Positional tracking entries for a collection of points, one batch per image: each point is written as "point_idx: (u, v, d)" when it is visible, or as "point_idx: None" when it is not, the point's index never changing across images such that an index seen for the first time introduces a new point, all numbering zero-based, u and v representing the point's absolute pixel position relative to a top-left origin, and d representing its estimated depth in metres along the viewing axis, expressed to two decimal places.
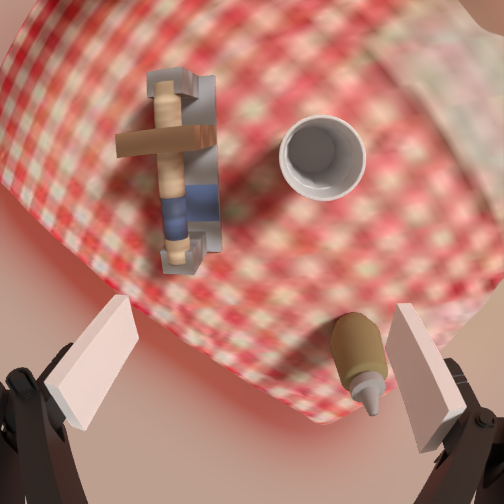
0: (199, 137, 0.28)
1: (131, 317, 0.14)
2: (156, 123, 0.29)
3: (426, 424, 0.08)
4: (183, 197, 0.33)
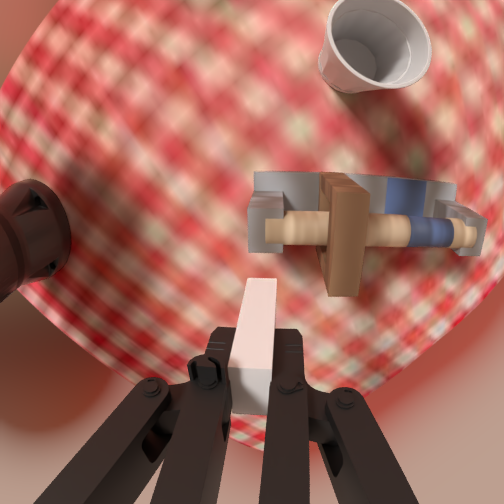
0: (349, 187, 0.22)
1: None
2: (319, 242, 0.26)
3: None
4: (409, 217, 0.25)
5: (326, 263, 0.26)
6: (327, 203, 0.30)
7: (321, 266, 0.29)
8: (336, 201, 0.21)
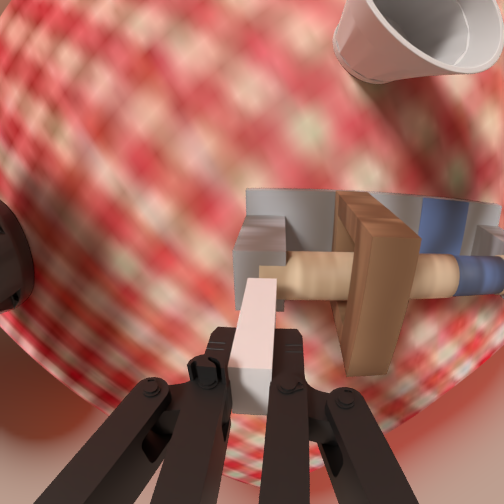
0: (386, 225, 0.14)
1: None
2: (336, 298, 0.18)
3: None
4: (457, 259, 0.17)
5: (345, 327, 0.18)
6: (346, 234, 0.22)
7: (336, 322, 0.21)
8: (369, 250, 0.13)
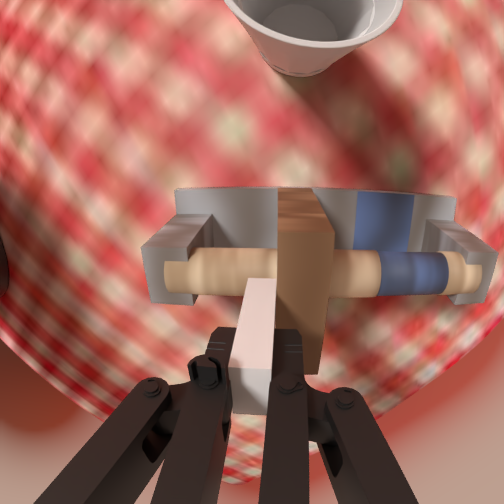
0: (304, 220, 0.15)
1: None
2: (240, 294, 0.18)
3: None
4: (381, 255, 0.18)
5: None
6: None
7: None
8: (277, 246, 0.14)
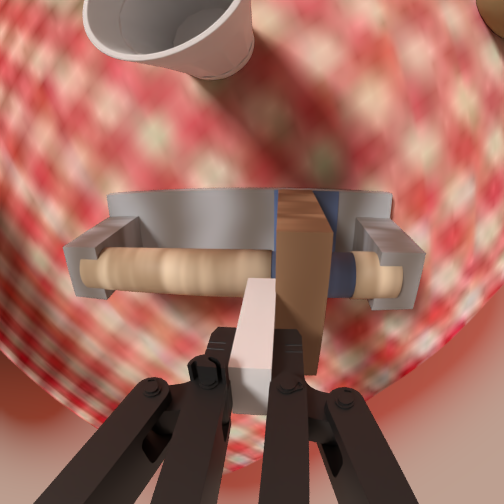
0: (303, 220, 0.15)
1: None
2: (140, 290, 0.19)
3: None
4: (275, 255, 0.18)
5: None
6: None
7: None
8: None
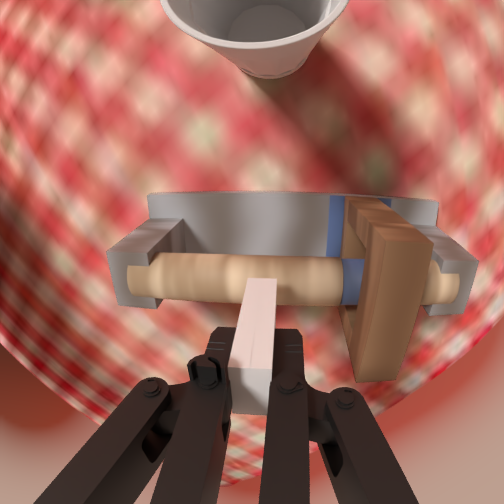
0: (398, 230, 0.14)
1: None
2: (199, 299, 0.18)
3: None
4: (345, 263, 0.17)
5: (354, 333, 0.17)
6: (355, 240, 0.21)
7: (344, 328, 0.20)
8: (382, 255, 0.13)
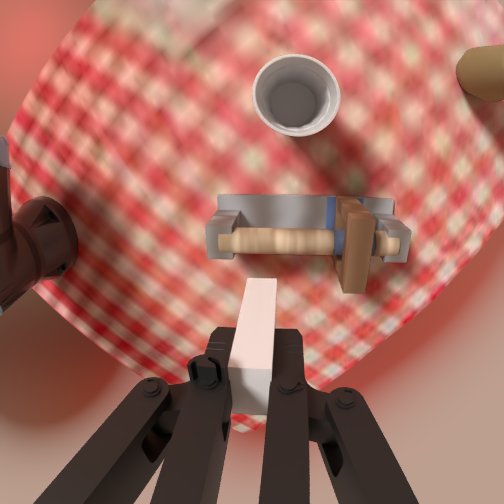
0: (360, 214, 0.30)
1: None
2: (259, 251, 0.35)
3: None
4: (335, 231, 0.34)
5: (341, 268, 0.34)
6: (341, 220, 0.38)
7: (336, 269, 0.37)
8: (351, 225, 0.29)
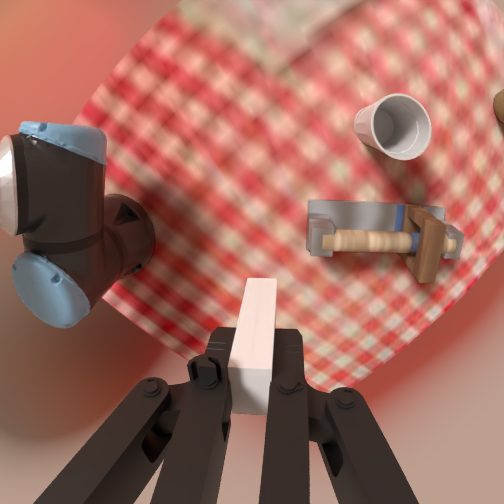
0: (434, 220, 0.36)
1: None
2: (355, 250, 0.40)
3: None
4: (411, 234, 0.39)
5: (415, 263, 0.39)
6: (409, 224, 0.43)
7: (407, 264, 0.42)
8: (430, 229, 0.35)
